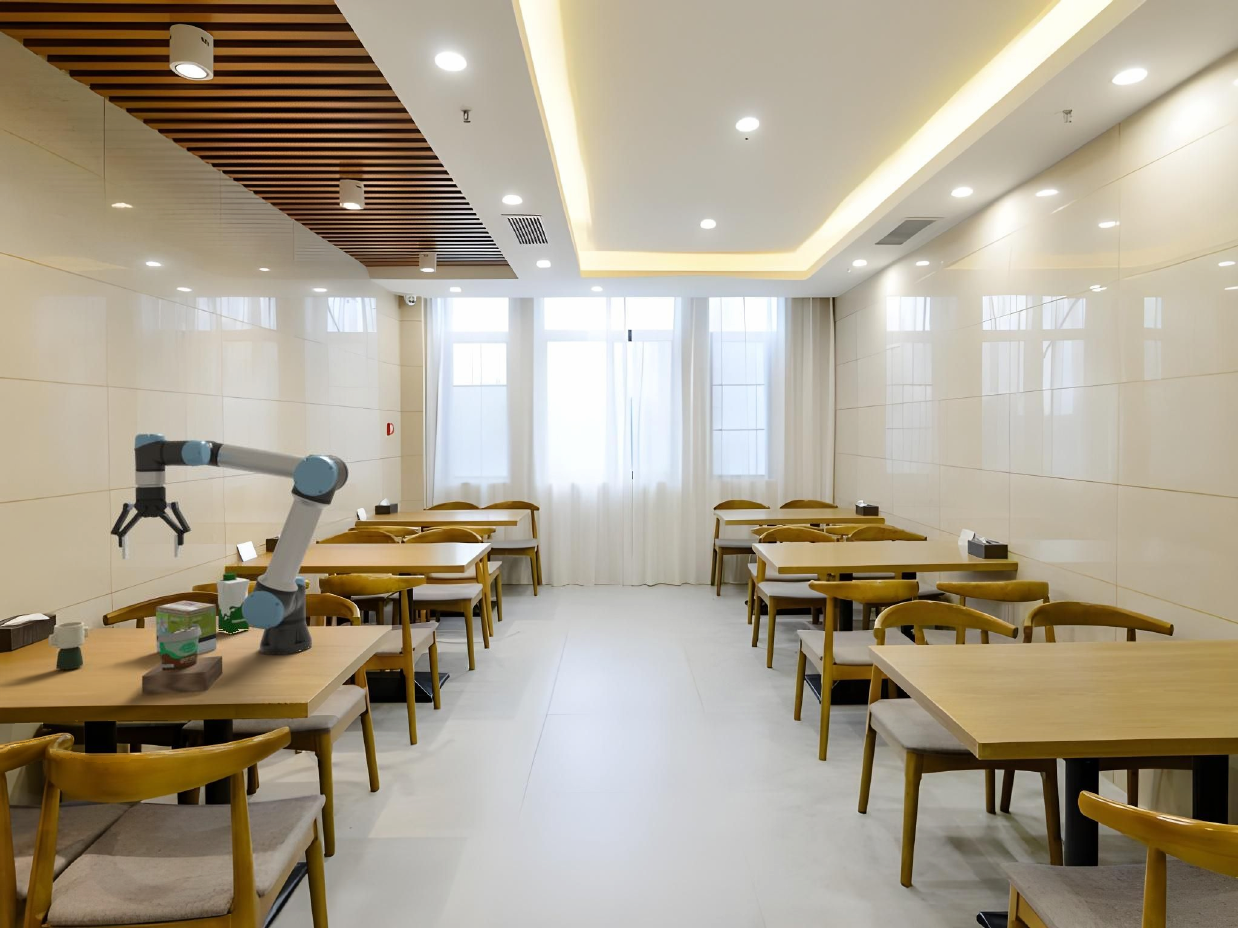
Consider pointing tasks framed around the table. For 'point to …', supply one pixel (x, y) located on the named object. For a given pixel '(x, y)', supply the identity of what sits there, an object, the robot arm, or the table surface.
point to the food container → (179, 648)
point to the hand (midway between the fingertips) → (151, 557)
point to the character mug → (69, 643)
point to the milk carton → (231, 603)
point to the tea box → (188, 621)
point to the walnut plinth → (182, 677)
